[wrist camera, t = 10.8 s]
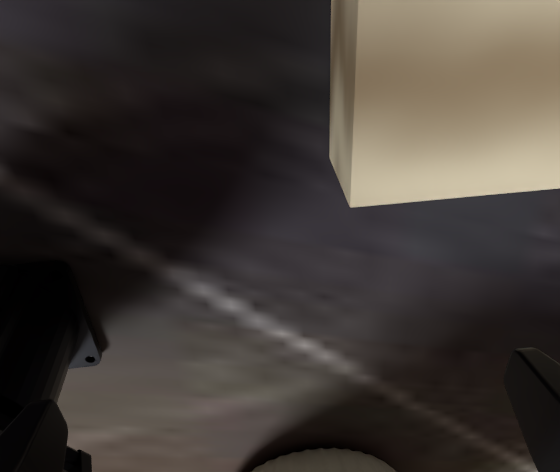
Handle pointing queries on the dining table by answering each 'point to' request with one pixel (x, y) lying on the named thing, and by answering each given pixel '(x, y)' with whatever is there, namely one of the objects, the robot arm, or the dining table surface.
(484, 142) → the hole block
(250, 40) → the dining table surface
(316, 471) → the canister
